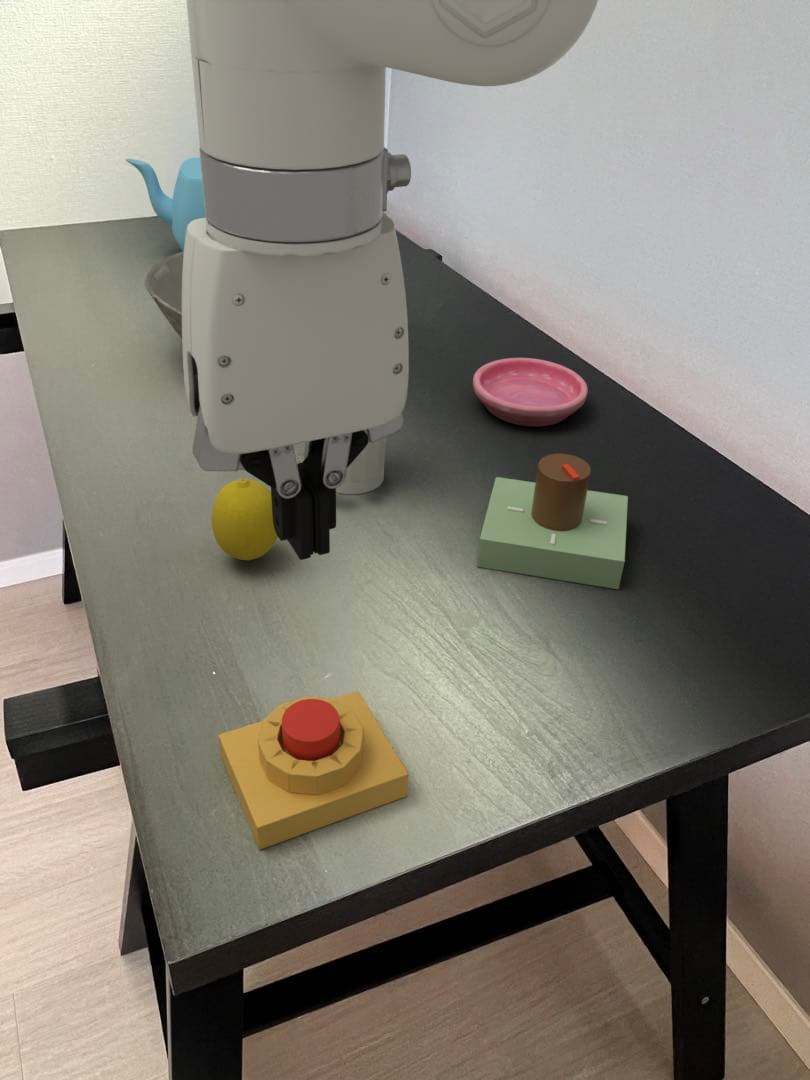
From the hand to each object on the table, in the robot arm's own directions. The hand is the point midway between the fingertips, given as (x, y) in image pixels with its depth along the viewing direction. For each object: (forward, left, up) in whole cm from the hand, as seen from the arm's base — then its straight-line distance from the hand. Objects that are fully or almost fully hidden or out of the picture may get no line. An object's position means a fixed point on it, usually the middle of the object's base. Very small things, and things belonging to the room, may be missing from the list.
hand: (305, 542), depth 51 cm
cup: (+7, -36, -19) cm, 41 cm away
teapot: (+42, -89, -19) cm, 100 cm away
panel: (-13, -30, -19) cm, 38 cm away
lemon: (+12, -21, -19) cm, 31 cm away
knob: (-13, -30, -16) cm, 36 cm away
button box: (0, 0, -19) cm, 19 cm away
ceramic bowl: (+25, -58, -19) cm, 66 cm away
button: (0, 0, -15) cm, 15 cm away
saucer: (-8, -55, -19) cm, 59 cm away
